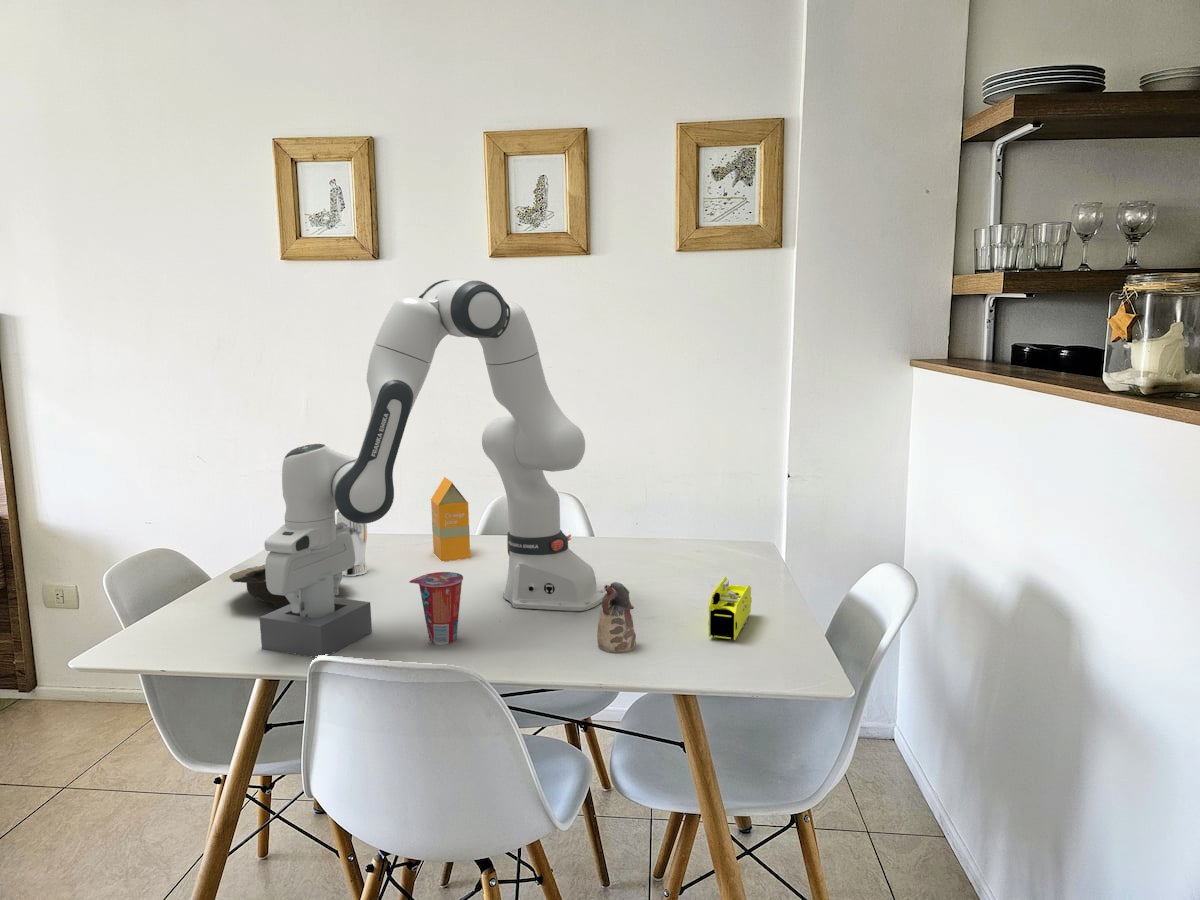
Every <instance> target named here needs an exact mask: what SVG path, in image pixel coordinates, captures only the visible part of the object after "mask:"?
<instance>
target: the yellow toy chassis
mask: <svg viewBox="0 0 1200 900" xmlns="http://www.w3.org/2000/svg"><path fill="white" fill-rule="evenodd" d="M751 605H752V587H751V584H747V586H745V585H737V584H736V585H735V584H731V585H730V580H728V578H727V576H726V575H724V577H723V578H722V579H721V581H720V582H719V583H718V585H717V586H716V587H715V589H714V590H713V592H712V593H711V595H710V598H709V603H708V638H710V637H711V636H712V637H713V638H715V639H719V640H728V641H729V640H734V641H735V640H736V639H737V637H738V636H739V634H740V632H741V630H742V629H745V624H747V621H748V620H747V619H748V617H749V615H750V614H751V611H752V610H751V609H752V607H751Z"/></svg>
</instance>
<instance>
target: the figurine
mask: <svg viewBox="0 0 1200 900" xmlns="http://www.w3.org/2000/svg"><path fill="white" fill-rule="evenodd" d="M603 588H604V589H605V590H606V592H607V594H606V595H605V596H604V598H603V601H602V602H601V608H602V609H601V612H600V615H599V620H598V625H597V631H596V632H597V633H596V638H597V644H598V645H597V646H598V648H599V649H600V650H602V651H604V652H606V653H613V654H619V653H620V654H621V653H628V652H632V651H633V650H634V649H635V646H636V644H637V642H636V640H637V638H636V637H637V636H636V635H637V634H636V632H635V629H634V628H635V627H634V621H633V616H632V613H631V610H634V609H635V607H634V605H633V604H632V603H631V601H630V591H629V589H628V588H627V587H626V586H624V584H622V583H621V582H618V581H614V582H611V584H605V585H604V586H603Z"/></svg>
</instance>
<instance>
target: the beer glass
mask: <svg viewBox="0 0 1200 900" xmlns="http://www.w3.org/2000/svg"><path fill="white" fill-rule="evenodd" d="M340 522H344V524H346V525H347V526H348V527H349V529H350V535H351V537H352V540H353V545H354V551H355V564H354V566H353V567H352V568H350V569H347V570H345V571H343V572H342V576H343V575H345V576H344V577H349V576H352V577H357V576H356V575H360V576H363V575H362V574H364V575H366V574H367V573H368V568H367V567H368V566H367V563H366V548H367V540H368V525H367V524H368V523H365V524H361V523H355V522H352V521H350V520H348V519H346V518H345V517H344V516H343V515H342V514H341V513H340V512H339V511H337V512H336V524H337V523H340ZM365 573H366V574H365Z"/></svg>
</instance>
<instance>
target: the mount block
mask: <svg viewBox="0 0 1200 900" xmlns="http://www.w3.org/2000/svg"><path fill="white" fill-rule="evenodd" d="M334 607H335V611H334V612H332V613H330V614H328V615H326V616H324V617H322V618H320V619H315V618H308V617H302V616H300V613H293V612H292V611H291V604H289V605H287V606H284V607H282V608H280V609H277V610H275V609H274V610H273V611H271V612H268V613H266V614H263V615H261V616H260V617H259V627H260V628H259V629H260V642H261V649H264V650H268V649H270V651H274V650H277V651H276V652H280V651H282V652H281V653H286V652H289V653H288V654H291V653H296V654H295V655H297V654H300V655H299V656H303V655H306V656H305V657H309V656H312V657H311V658H315V656H318V655H325V654H330V655H332V654H334V653H336V652H338V651H339V650H341V649H344V648H345V647H347V646H348V645H351V644H352V643H354V642H357V641H358V640H360V639H362V638H364V637H366V636H368V635H369V634H371V633H372V631H373V627H372V612H371V611H372V610H371V609H372V608H371V601H365V600H364V601H363V600H356V599H349V598H342V597H337V596H335V597H334ZM337 650H338V651H337ZM333 652H334V653H333Z"/></svg>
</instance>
